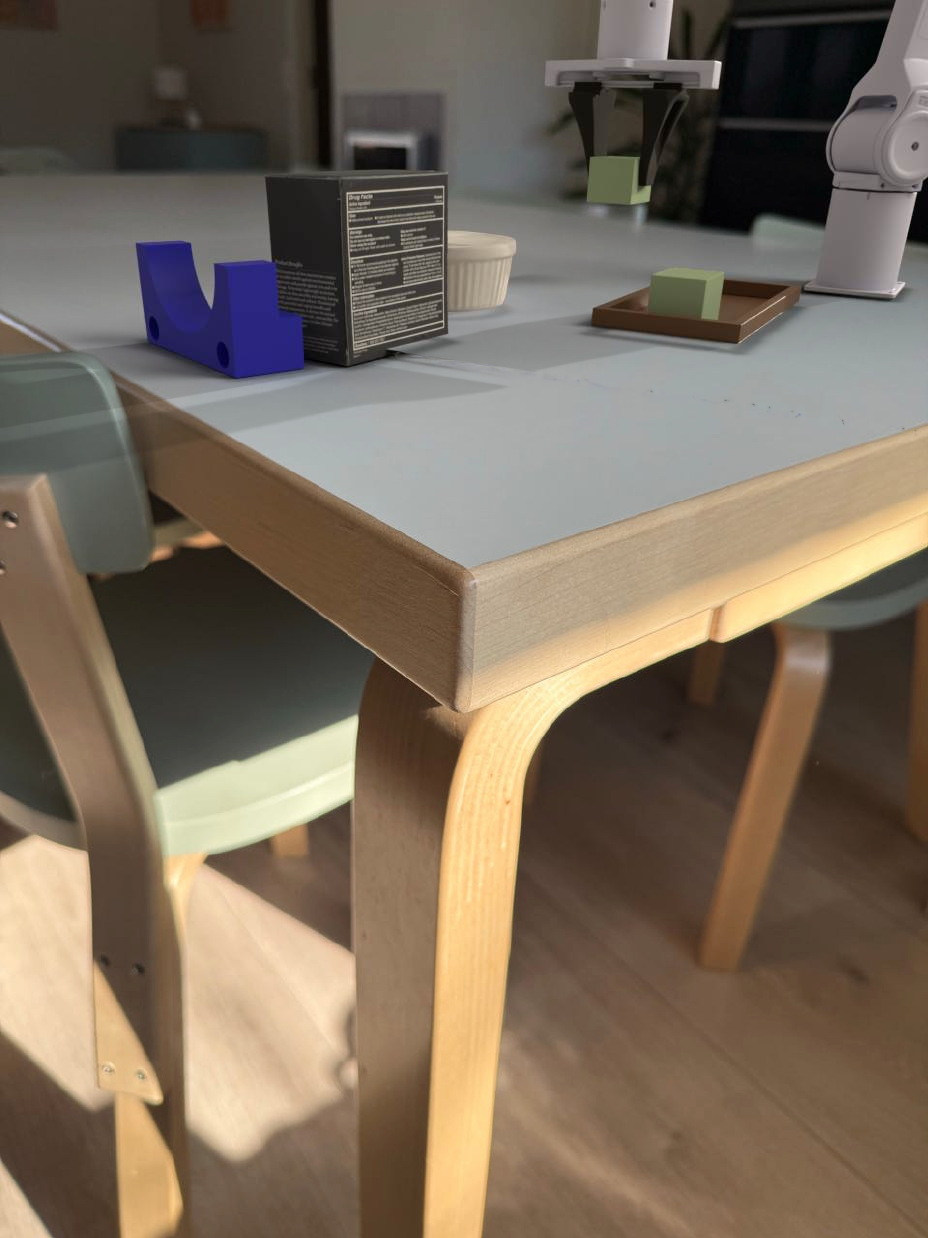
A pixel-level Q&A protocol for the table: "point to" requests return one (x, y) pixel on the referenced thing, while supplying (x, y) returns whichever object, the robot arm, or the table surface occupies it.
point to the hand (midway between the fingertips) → (619, 183)
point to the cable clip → (218, 312)
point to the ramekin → (478, 269)
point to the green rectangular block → (686, 293)
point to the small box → (361, 258)
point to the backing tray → (737, 319)
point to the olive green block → (616, 181)
